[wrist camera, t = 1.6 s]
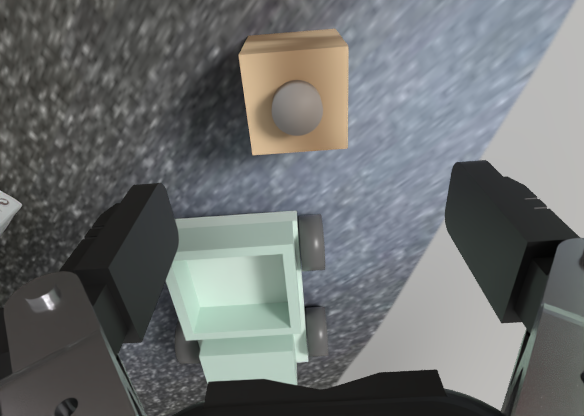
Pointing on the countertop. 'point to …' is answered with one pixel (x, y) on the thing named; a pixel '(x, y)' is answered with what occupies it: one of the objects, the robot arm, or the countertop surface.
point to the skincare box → (7, 210)
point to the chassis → (247, 295)
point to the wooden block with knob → (296, 91)
